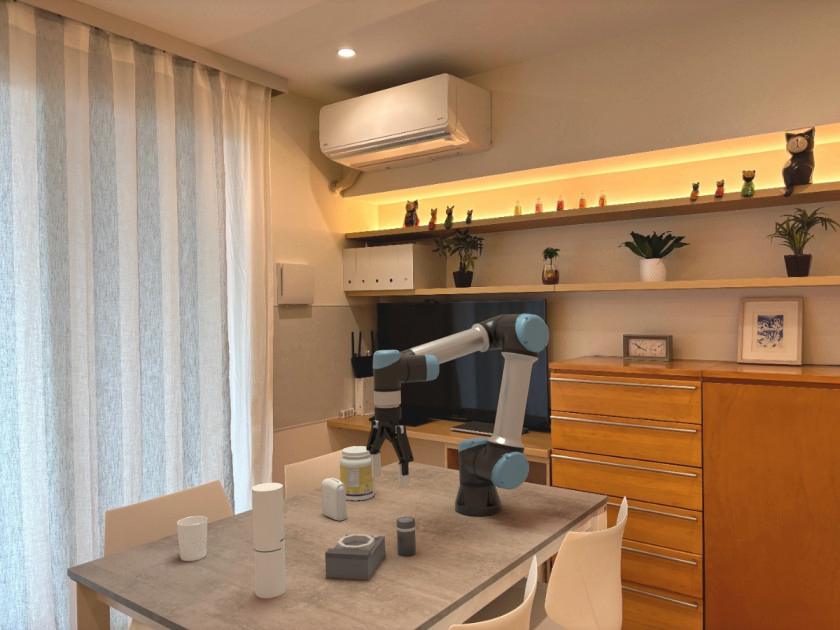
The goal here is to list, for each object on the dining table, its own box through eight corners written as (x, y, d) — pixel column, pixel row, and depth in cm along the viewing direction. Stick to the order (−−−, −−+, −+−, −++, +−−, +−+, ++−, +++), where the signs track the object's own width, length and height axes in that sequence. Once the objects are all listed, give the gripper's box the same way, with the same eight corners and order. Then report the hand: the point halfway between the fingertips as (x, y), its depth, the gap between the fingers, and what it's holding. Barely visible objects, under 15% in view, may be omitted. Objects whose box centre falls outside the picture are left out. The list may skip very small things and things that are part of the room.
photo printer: (320, 514, 204) (319, 477, 203) (331, 511, 206) (330, 474, 206) (337, 522, 196) (335, 483, 195) (348, 519, 198) (347, 480, 198)
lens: (417, 549, 171) (416, 516, 171) (413, 557, 166) (412, 523, 166) (399, 548, 172) (398, 516, 172) (395, 556, 167) (394, 522, 167)
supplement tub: (345, 491, 229) (344, 445, 229) (378, 491, 227) (376, 445, 227) (336, 501, 217) (335, 453, 217) (371, 501, 215) (369, 453, 215)
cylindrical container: (291, 586, 151) (288, 483, 150) (275, 600, 144) (272, 492, 144) (266, 583, 153) (262, 481, 153) (249, 596, 146) (245, 490, 146)
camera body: (346, 552, 171) (345, 528, 171) (385, 554, 169) (384, 530, 168) (325, 577, 155) (325, 551, 155) (368, 580, 153) (367, 553, 153)
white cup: (180, 564, 166) (178, 527, 166) (176, 554, 173) (175, 518, 173) (210, 558, 170) (209, 521, 170) (206, 548, 177) (205, 513, 177)
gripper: (425, 409, 166) (427, 488, 166) (375, 399, 186) (376, 470, 186) (402, 412, 161) (404, 494, 161) (353, 402, 181) (355, 475, 181)
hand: (389, 481), depth 174 cm, fingers open, 13 cm apart
